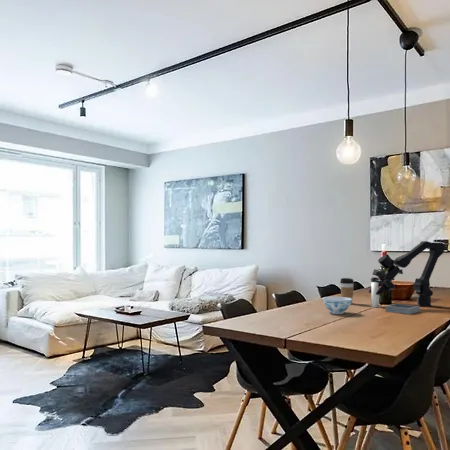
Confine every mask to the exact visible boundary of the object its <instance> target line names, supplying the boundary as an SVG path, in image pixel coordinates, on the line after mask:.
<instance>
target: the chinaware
mask: <svg viewBox="0 0 450 450" xmlns="http://www.w3.org/2000/svg"><path fill="white" fill-rule="evenodd" d="M322 301H323V304H324V306H325V308H326V309H327V310H328V311H330V314H333V315H342V314H344V312H345V311H347V310H348V309H349V308H350V306H351V305H352V304H351V301H352V302H353V299H351V298H347V297H342V296H324V297H322Z"/></svg>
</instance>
